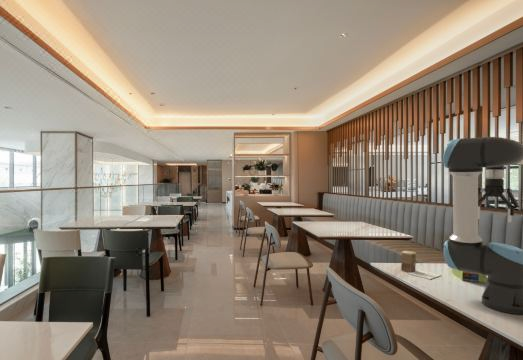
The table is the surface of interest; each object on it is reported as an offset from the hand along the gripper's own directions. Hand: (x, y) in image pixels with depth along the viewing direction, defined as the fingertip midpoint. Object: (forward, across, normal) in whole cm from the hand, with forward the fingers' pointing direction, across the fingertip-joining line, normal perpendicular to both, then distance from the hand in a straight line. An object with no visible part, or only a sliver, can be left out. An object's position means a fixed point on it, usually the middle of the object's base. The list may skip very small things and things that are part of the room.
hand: (493, 220), depth 164 cm
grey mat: (+29, +20, +26) cm, 44 cm away
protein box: (+29, +6, +10) cm, 31 cm away
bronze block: (+29, +29, +26) cm, 49 cm away
